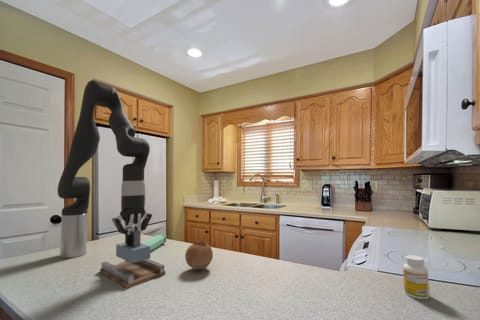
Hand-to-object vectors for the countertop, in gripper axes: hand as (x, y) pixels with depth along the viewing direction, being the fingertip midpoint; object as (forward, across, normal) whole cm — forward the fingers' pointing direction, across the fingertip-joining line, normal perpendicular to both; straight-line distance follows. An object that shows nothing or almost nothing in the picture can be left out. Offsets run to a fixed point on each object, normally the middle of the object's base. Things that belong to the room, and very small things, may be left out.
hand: (132, 244), depth 83 cm
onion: (+10, -16, +16) cm, 25 cm away
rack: (+10, 0, 0) cm, 10 cm away
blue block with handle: (+4, 0, 0) cm, 4 cm away
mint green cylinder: (+10, -16, -18) cm, 26 cm away
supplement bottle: (+10, -40, +76) cm, 86 cm away
